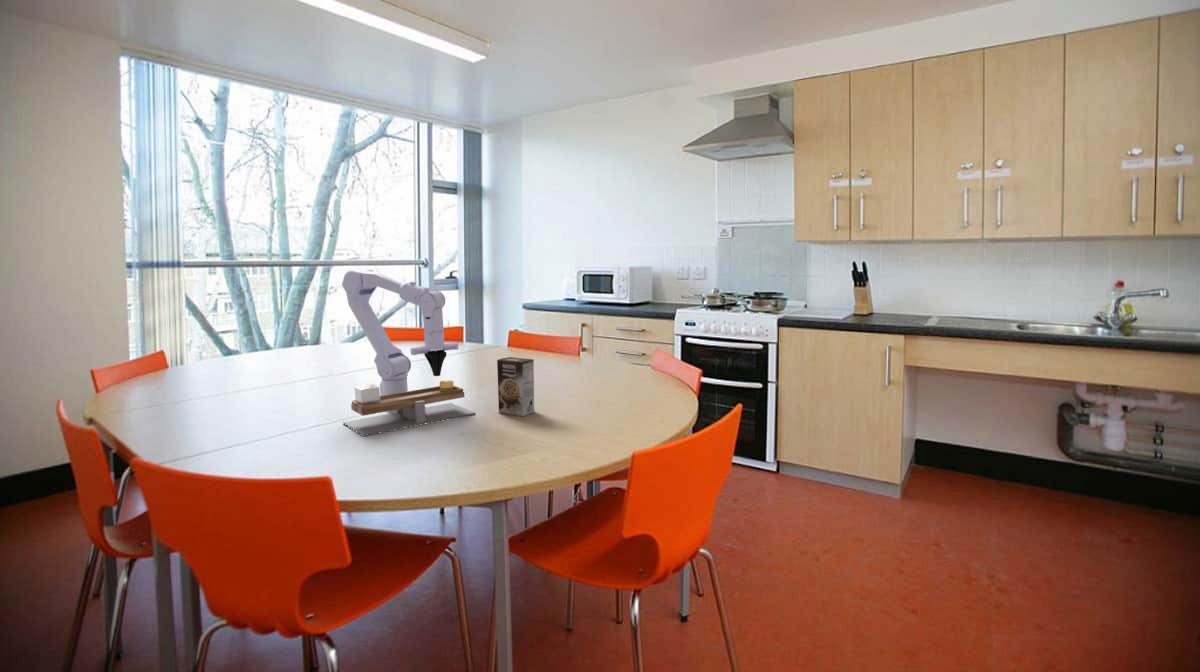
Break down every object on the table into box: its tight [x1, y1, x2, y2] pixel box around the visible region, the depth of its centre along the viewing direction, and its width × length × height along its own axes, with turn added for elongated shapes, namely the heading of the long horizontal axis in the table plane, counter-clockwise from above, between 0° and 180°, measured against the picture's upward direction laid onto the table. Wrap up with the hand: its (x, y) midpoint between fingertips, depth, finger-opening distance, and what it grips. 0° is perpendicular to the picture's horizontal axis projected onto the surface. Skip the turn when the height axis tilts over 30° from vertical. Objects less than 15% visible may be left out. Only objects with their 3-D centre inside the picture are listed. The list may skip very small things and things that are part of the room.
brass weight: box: [439, 379, 455, 392], centre depth 191 cm, size 4×4×3 cm
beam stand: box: [342, 400, 476, 435], centre depth 184 cm, size 16×33×6 cm, turn 129°
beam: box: [350, 384, 466, 417], centre depth 184 cm, size 12×30×2 cm, turn 129°
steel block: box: [354, 384, 380, 406], centre depth 176 cm, size 5×5×5 cm
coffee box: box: [496, 356, 535, 417], centre depth 190 cm, size 9×6×16 cm
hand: (436, 375), depth 194 cm, fingers closed
